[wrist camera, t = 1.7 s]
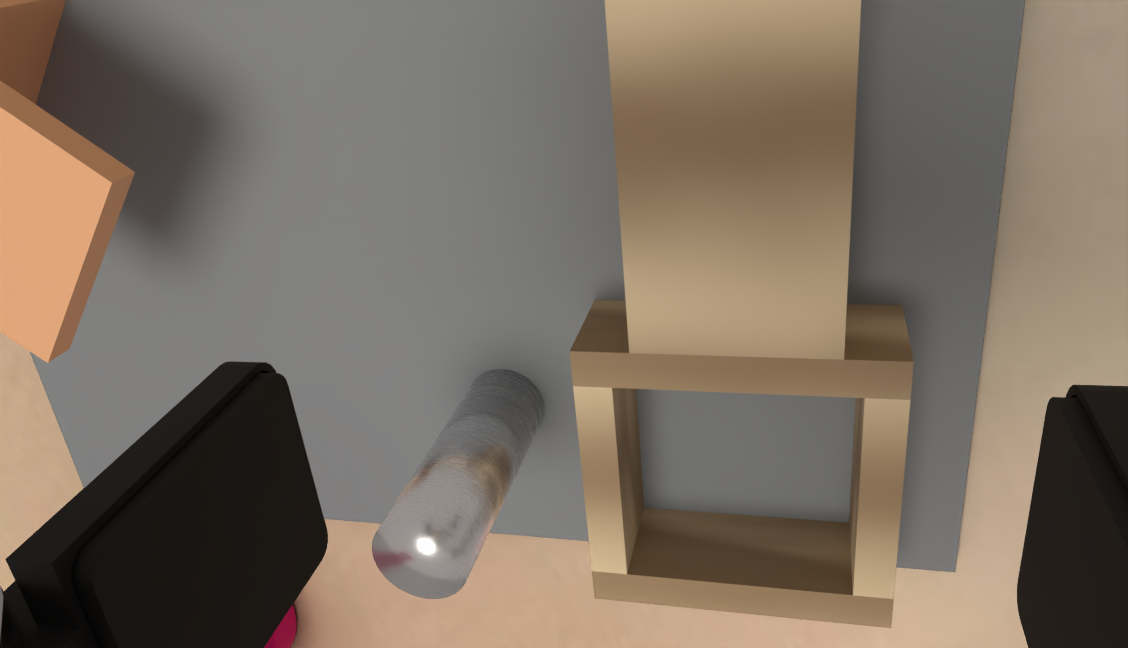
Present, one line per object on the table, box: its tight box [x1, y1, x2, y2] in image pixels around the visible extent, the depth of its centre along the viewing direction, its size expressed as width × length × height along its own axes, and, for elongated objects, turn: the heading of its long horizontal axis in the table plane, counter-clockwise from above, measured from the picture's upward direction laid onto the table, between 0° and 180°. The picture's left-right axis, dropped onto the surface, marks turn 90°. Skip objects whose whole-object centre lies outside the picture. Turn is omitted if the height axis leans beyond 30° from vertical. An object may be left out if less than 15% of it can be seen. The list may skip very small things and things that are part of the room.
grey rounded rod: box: [372, 369, 545, 599], centre depth 24 cm, size 2×2×7 cm
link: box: [570, 0, 914, 628], centre depth 22 cm, size 18×8×3 cm, turn 5°
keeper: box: [0, 0, 135, 363], centre depth 24 cm, size 7×6×6 cm
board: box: [30, 0, 1025, 572], centre depth 26 cm, size 30×19×1 cm, turn 95°
